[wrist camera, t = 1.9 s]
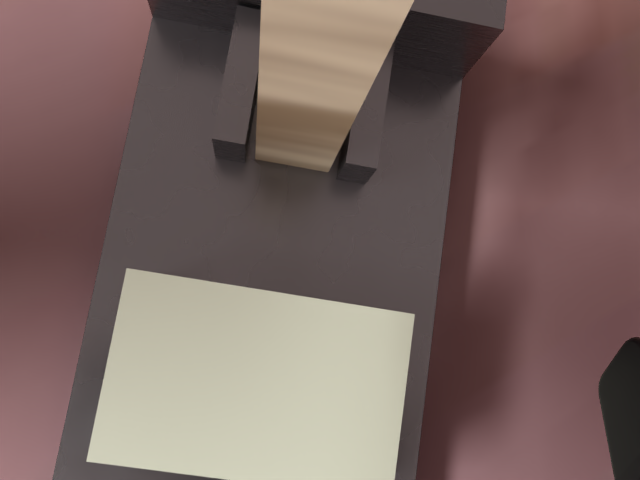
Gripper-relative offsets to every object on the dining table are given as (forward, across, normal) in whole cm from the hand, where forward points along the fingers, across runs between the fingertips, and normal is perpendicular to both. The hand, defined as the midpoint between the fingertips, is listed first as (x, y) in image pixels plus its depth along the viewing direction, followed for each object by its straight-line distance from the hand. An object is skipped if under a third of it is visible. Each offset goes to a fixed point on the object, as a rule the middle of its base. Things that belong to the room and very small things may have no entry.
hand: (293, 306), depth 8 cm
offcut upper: (+6, 0, +8) cm, 10 cm away
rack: (+11, 0, +8) cm, 13 cm away
